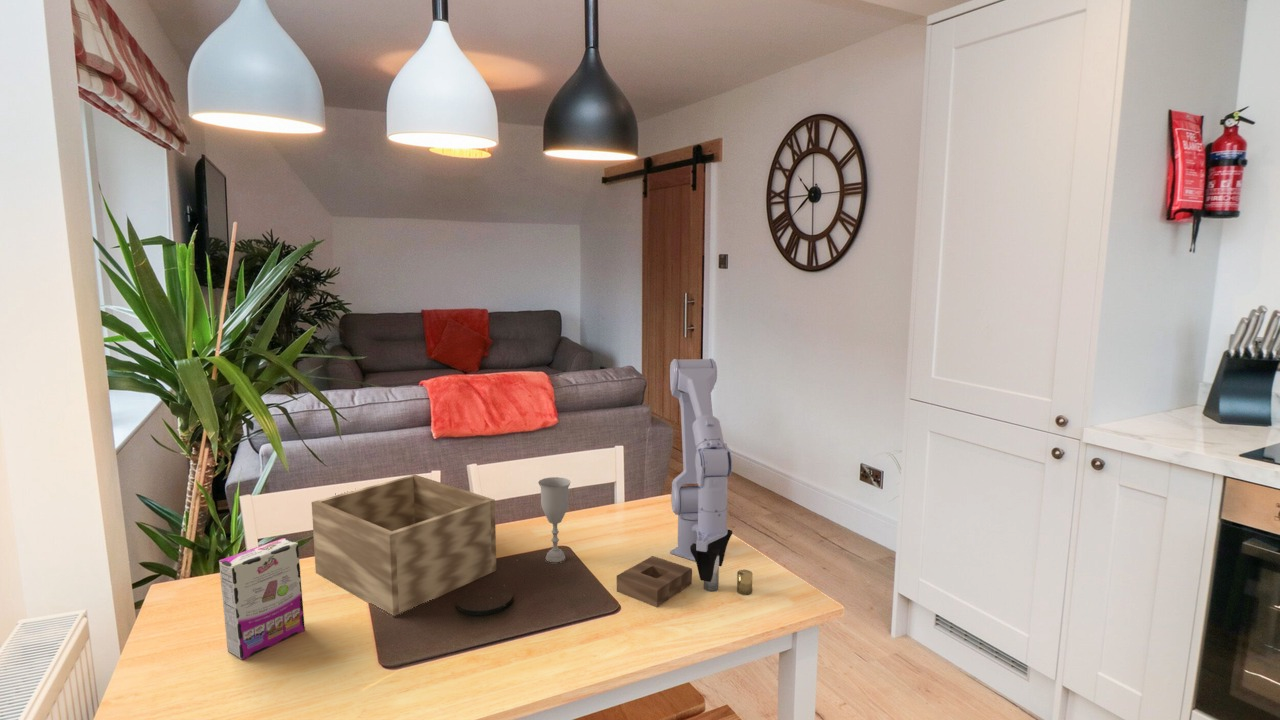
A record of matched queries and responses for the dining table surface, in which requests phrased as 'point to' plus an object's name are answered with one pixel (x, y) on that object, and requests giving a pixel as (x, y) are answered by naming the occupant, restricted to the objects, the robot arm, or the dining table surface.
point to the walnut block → (654, 581)
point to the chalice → (554, 509)
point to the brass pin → (744, 582)
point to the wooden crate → (404, 541)
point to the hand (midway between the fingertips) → (711, 572)
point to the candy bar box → (261, 597)
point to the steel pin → (713, 578)
